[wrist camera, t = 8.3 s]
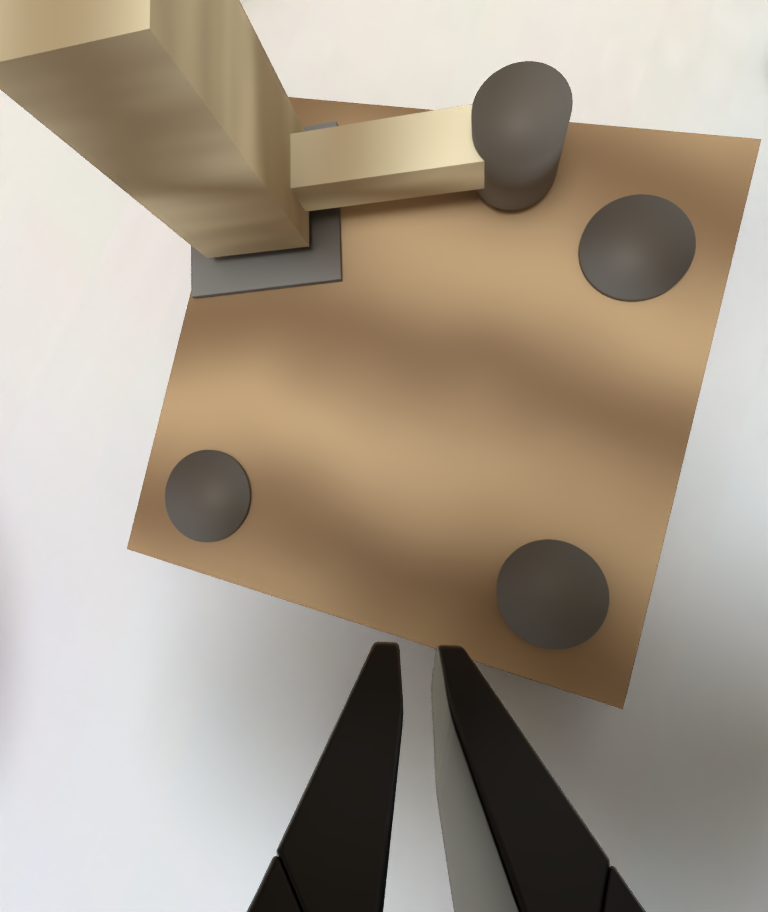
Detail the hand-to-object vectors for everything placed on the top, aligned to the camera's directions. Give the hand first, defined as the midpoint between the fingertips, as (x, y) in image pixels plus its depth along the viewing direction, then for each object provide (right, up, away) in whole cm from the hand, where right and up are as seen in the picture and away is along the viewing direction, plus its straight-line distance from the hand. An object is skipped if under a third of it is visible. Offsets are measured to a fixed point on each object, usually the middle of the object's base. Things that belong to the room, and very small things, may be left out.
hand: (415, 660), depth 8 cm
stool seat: (+1, +6, +9) cm, 11 cm away
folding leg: (-1, +12, +7) cm, 14 cm away
